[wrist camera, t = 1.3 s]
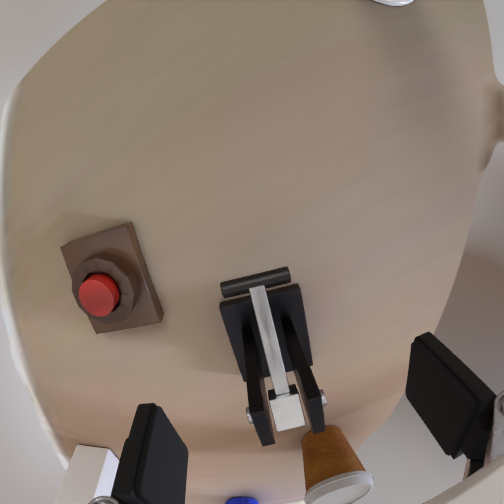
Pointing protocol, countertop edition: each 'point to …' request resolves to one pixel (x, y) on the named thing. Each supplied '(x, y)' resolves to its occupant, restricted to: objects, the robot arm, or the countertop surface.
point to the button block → (115, 277)
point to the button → (99, 294)
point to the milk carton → (88, 475)
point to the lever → (270, 344)
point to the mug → (242, 500)
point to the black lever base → (292, 351)
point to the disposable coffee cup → (333, 469)
